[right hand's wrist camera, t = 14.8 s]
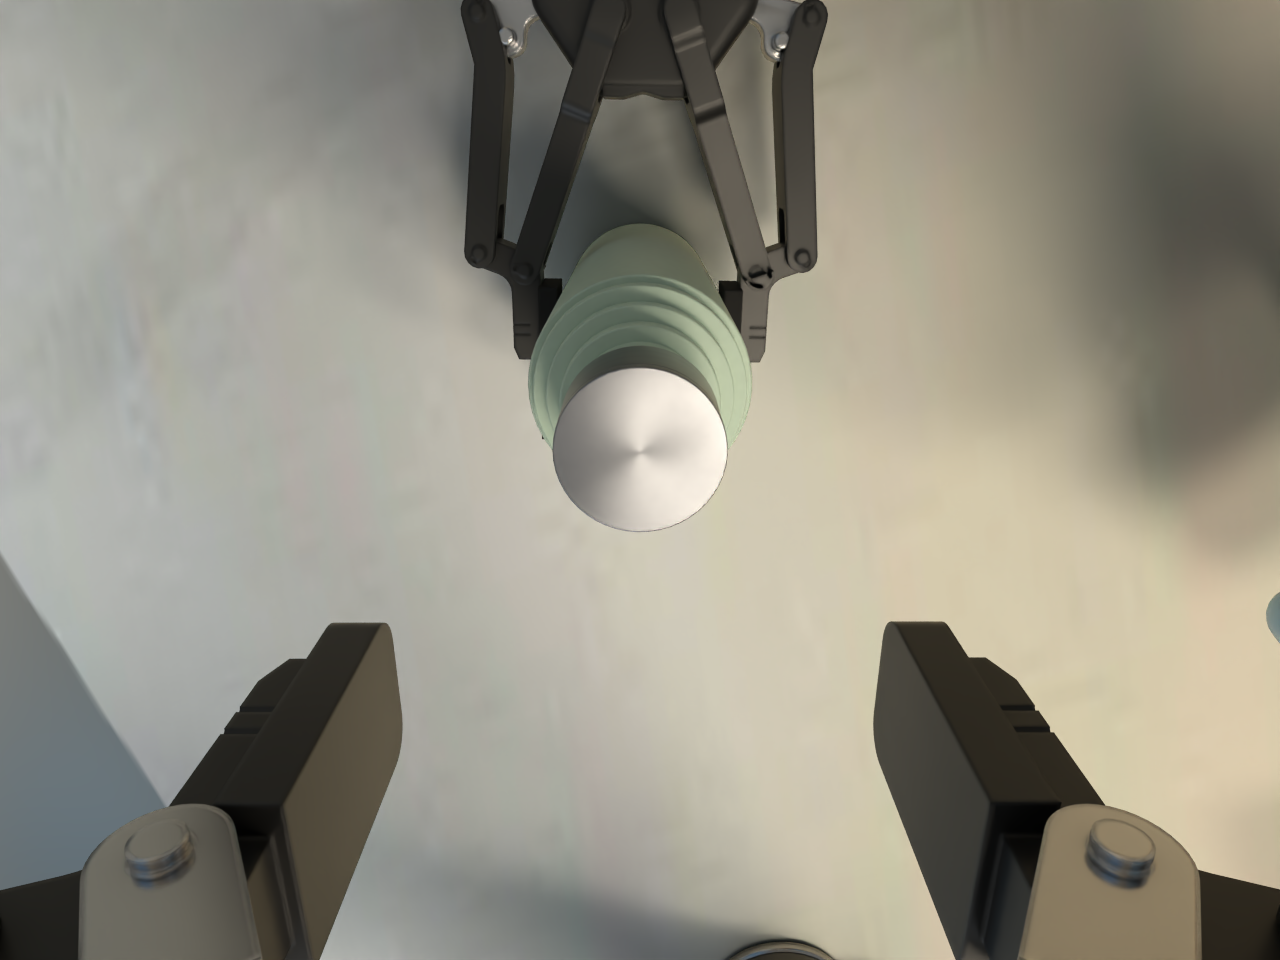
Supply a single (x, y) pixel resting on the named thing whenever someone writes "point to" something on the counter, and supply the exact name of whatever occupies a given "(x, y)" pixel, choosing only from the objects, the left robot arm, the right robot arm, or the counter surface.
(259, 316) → the counter surface
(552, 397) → the bottle
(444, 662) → the counter surface
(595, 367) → the cap
